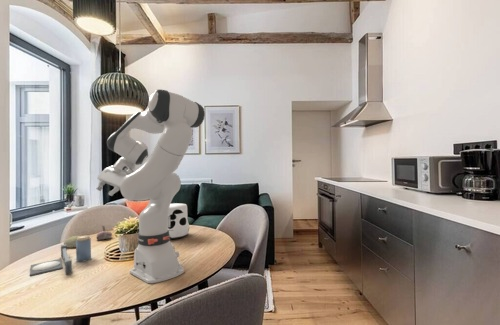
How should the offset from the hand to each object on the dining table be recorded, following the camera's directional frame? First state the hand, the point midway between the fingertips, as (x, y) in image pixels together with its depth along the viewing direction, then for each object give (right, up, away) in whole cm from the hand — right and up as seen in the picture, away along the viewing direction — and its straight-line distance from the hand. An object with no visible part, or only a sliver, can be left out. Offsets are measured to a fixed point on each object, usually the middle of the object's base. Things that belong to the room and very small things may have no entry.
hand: (103, 192), depth 118 cm
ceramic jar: (-5, -29, -6) cm, 30 cm away
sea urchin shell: (-23, -30, +13) cm, 40 cm away
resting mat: (-15, -29, -14) cm, 36 cm away
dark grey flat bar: (-10, -29, -11) cm, 33 cm away
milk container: (+26, -29, +26) cm, 46 cm away
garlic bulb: (-14, -30, +24) cm, 40 cm away
